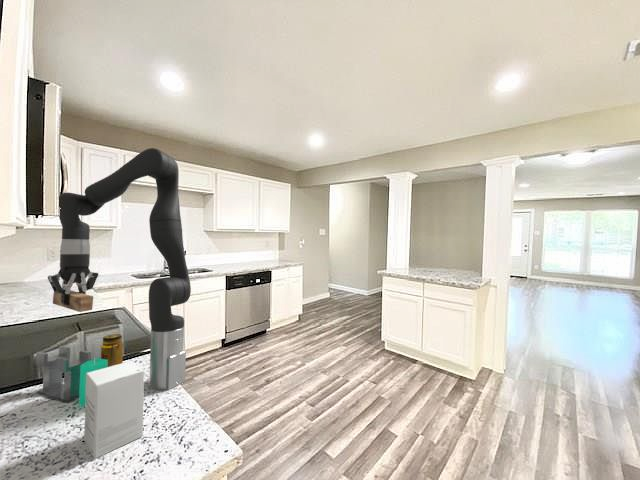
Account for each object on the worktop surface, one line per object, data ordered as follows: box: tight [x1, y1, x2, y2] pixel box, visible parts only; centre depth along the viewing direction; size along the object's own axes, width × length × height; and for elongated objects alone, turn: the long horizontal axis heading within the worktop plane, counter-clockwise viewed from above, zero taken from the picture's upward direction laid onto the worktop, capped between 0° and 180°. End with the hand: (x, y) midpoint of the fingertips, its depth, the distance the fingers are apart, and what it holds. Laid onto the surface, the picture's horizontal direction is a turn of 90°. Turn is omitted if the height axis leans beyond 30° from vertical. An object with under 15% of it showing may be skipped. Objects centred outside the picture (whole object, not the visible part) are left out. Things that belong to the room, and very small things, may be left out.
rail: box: [52, 289, 94, 313], centre depth 94 cm, size 15×4×4 cm, turn 69°
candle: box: [78, 356, 108, 408], centre depth 77 cm, size 6×6×12 cm
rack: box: [35, 345, 92, 404], centre depth 81 cm, size 14×6×12 cm, turn 69°
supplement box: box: [83, 360, 145, 459], centre depth 62 cm, size 9×9×15 cm
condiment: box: [100, 333, 124, 367], centre depth 96 cm, size 7×8×12 cm
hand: (73, 303), depth 93 cm, fingers closed on rail, 3 cm apart
